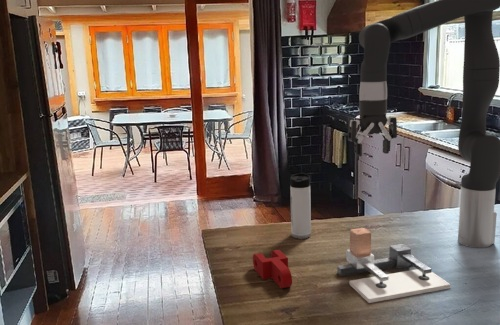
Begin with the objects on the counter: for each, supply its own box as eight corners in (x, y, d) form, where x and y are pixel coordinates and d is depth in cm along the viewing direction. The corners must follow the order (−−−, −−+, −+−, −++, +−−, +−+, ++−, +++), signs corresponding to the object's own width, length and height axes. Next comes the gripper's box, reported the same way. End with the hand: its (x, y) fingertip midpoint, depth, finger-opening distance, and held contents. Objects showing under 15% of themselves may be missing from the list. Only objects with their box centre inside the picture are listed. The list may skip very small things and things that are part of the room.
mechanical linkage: (253, 268, 136) (252, 251, 135) (277, 263, 138) (276, 247, 137) (274, 293, 121) (274, 274, 120) (301, 288, 124) (300, 269, 123)
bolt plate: (425, 271, 130) (425, 267, 129) (450, 288, 120) (450, 283, 120) (349, 284, 124) (349, 280, 124) (369, 303, 115) (369, 298, 114)
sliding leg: (363, 260, 134) (363, 226, 132) (393, 284, 120) (394, 247, 118) (346, 262, 133) (346, 228, 131) (375, 288, 119) (376, 250, 116)
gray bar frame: (408, 259, 137) (408, 242, 136) (441, 281, 123) (442, 263, 122) (335, 271, 132) (335, 253, 131) (361, 296, 118) (362, 276, 117)
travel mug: (312, 232, 160) (312, 173, 156) (308, 239, 154) (307, 178, 150) (294, 231, 162) (293, 172, 158) (289, 238, 156) (287, 177, 152)
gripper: (388, 95, 143) (387, 150, 146) (343, 98, 139) (343, 154, 143) (403, 97, 136) (401, 154, 139) (356, 100, 132) (355, 159, 136)
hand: (372, 154), depth 141 cm, fingers open, 8 cm apart
